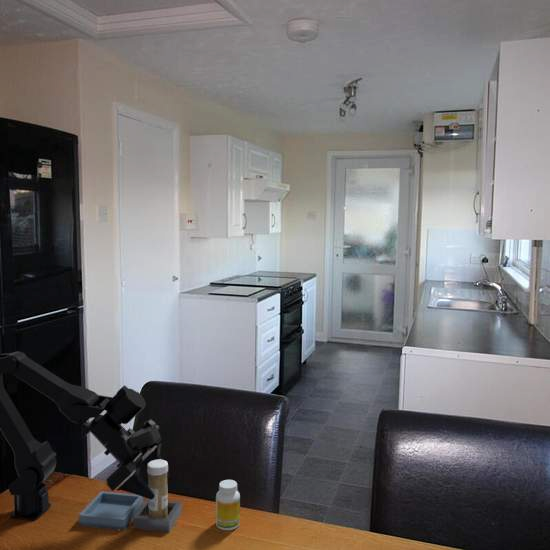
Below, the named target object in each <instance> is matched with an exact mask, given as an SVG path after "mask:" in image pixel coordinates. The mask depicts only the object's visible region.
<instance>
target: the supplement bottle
mask: <svg viewBox="0 0 550 550" xmlns="http://www.w3.org/2000/svg"><path fill="white" fill-rule="evenodd" d="M218 489H219V490H218V491H217V492H216V495H215V525H216V527H217V529H220V530H223V531H232V530H234V529H237V528H239V526H240V521H241V512H240V511H241V510H240V509H241V495H240V494H241V493H240V492H239V490H238V483H237V481H235V480H233V479H225V480H221V481H220V482H219V485H218Z"/></svg>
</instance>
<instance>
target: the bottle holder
mask: <svg viewBox="0 0 550 550" xmlns="http://www.w3.org/2000/svg"><path fill="white" fill-rule="evenodd" d="M182 505H183V502H182V501H180V500H178V501H177V500H171V499H168V505H167V506H168V517H167V518H157V517H149V508H148V498H145V501H143V505H142V506H141V507H140V509H139V510H138V511H137V513H136V514H135V515H134V517H133V520H132V529H134V528H135V530H142V531H143V530H144V531H145V530H146V531H154V532H165V533H170V532H171V530H172V529H173V528H174V526H175V523H176V522H177V520H178V519H179V517H180V515H181V514H182V511H183V508H182ZM147 515H148V516H147Z"/></svg>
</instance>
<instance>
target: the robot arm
mask: <svg viewBox="0 0 550 550" xmlns="http://www.w3.org/2000/svg"><path fill="white" fill-rule="evenodd" d="M5 374H11V375H12V376H15V377H16V378H18V379H19V380H21V381H22V382H24V383H26V384H27V385H28V386H29V387H31V388H33V389H35V390H36V391H37V392H40V393H41V394H42V395H44V396H46V397H47V398H49V399H50V400H51V401H53V402H54V403H55V404H56V406H57V407H58V410H59V411H60V412H61V413H62V414H63V415H64V416H66V417H65V418H67V419H68V420H69V421H71V422H73V423H75V424H81V432H80V433H81V434H80V436H81V438H85V437H86V436H87V435H90V433H91V434H92V435H93V436H94V437H95V439H96V440H97V441H98V442H99V443H100V444H101V445H102V446H103V447H104V449H106V450H105V451H104V452H103V453H104V455H105V456H106V457H107V456H109V454H110V455H111V456H112V457H113V458H114V459H115V460H116V461H117V463H118V464H117V465H116V467H117V468H116V469H115V470H114V471H113V472H112V473H110V475H109V476H108V477H107V478H106V486H107V487H108V488H109V489H110V491H111V492H114V491H115V490H116V491H118V492H119V491H122V492H126V493H129V494H135V495H139V496H142V497H143V498H145V499H147V498H148V499H151V500H152V499H153V498H154V497H155V495H154V493H153V492H152V490H151V489H150V488H149V487H148V483H147V482H145V480H144V479H143V477H142V476H141V467H140V466H139V467H137V463H138V462H139V461H141V462H140V465H142V466H144V467H145V468H147V465H148V463H149V462H150V461H153V460H158V459H160V460H163V459H162V456H161V447H162V442H161V441H162V440H163V439H162V438H161V434H160V433H159V430H160V428H161V427H160V425H159V424H158V425H157V423H156V422H155V421H154V420H152V419H148V420H146V421H145V422H144V423H143V424H142V428H140V429H139V430H138V431H135V430H133V429H132V428H128V429H126V428H125V427H124V426H123V425H127V424H129V423H130V422H131V421H132V420H133V419H134V418H135V417H137V415H138V414H139V413H140V412H141V411H142V410H144V408H145V407H146V405H147V403H146V400H145V398H144V397H143V395H142V394H141V393H140V392H139V391H136V390H135V389H132V388H128V386H127V385H123V386H122V387H121V388H119V389H118V391H117V392H116V394H114V396H108V395H99V394H98V393H96V392H95V391H93V390H92V389H89V388H86V387H84V386H81V385H75V384H73V383H72V384H71V383H69V382H67V381H66V380H63V379H62V378H61V377H59V376H58V375H56V374H55V373H53V372H51V371H50V370H49V369H46V368H45V367H44V366H42V365H40V364H39V363H37V362H35V361H34V360H33V359H31V358H30V357H27V354H25V352H22V351H15V352H14V351H13V352H10V353H1V354H0V431H1V433H2V435H3V436H4V438H5V440H6V441H7V443H8V444H9V446H10V447H11V450H12V452H13V455H14V467H15V470H16V473H17V475H18V476H17V477H16V478H15V479H14V480H13V481H12V482H11V483H10V484H9V485H8V486H7V489H8V491H9V493H10V495H11V496H13V502H14V503H13V504H14V505H13V506H14V507H13V508H14V510H13V512H11V513H10V515H9V517H10V518H13V519H14V518H15V519H22V520H23V519H24V520H31V521H36V520H37V519H39V518H40V517H41V516H42V515H43V514H44V513H45V512H46V511H47V510H48V509H49V508H50V507H51V506H52V503H50V502H49V491H48V490H47V483H44V482H45V481H46V480H47V479H48V478H49V476H50V475H51V474H52V473H53V472H54V470H55V468H56V466H57V463H58V462H57V458H56V456H57V453H56V452H55V451H54V450H53V448H52V447H51V444H50V442H49V441H48V440H45V441H44V442H43V443H42V442H40V441H38V440H37V439H35V437H34V435H33V433H32V432H31V430H30V429H29V427H28V426H27V424H26V422H25V420H24V419H23V417H22V415H21V414H20V412H19V411H18V409H17V407H16V405H15V404H14V402H13V401H12V399H11V397H10V396H9V393H8V392H7V390H6V389H5V386H4V378H3V375H5ZM104 411H106V412H105V413H104V414H102V413H103V412H104ZM89 419H92V420H91V421H89ZM82 423H83V424H82ZM160 442H161V443H160ZM169 478H170V474H169V471H168V472H167V480H168V479H169Z"/></svg>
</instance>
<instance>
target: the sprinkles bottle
mask: <svg viewBox="0 0 550 550" xmlns="http://www.w3.org/2000/svg"><path fill="white" fill-rule="evenodd" d="M146 468H147V469H146V471H147V472H146V473H147V485H148V487H149V488H150V489H151V490H152V492H153V493H154V495H155V497H154V498H153V499H152V500H151V499H148V508H149V513H148V517H157V518H167V517H168V515H169V513H168V506H167V505H168V500H169V499H168V479H167V472H168V473H169V463H168V461H167V460H164V459H162V460H160V459H158V460H153V461H150V462H149V463H148V465H147V467H146Z"/></svg>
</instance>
